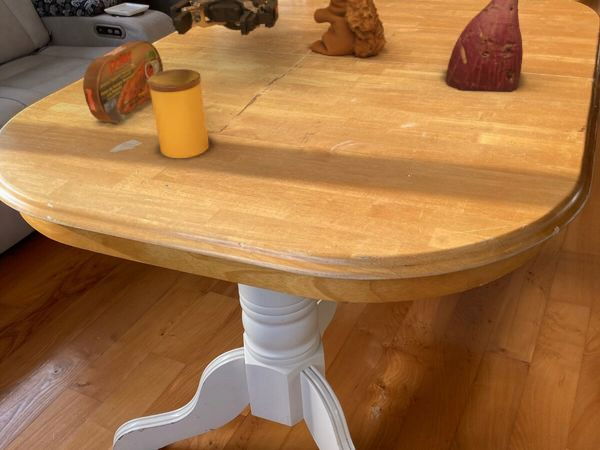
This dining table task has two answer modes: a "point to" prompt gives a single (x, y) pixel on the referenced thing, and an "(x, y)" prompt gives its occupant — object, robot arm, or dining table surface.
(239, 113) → the dining table surface
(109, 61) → the tin
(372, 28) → the stuffed squirrel
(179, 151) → the yellow canister
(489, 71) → the vegetable
